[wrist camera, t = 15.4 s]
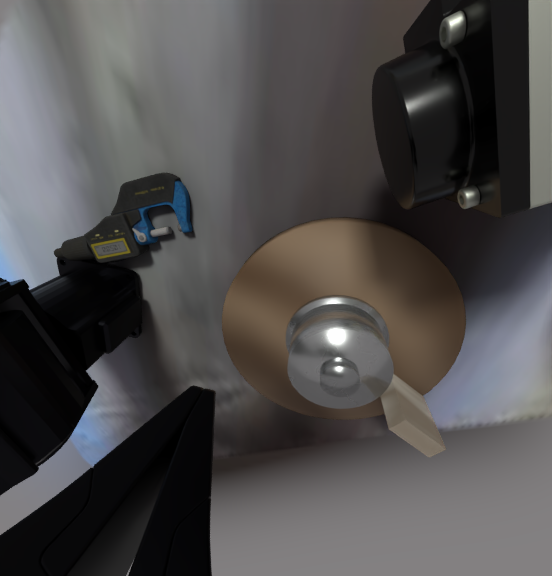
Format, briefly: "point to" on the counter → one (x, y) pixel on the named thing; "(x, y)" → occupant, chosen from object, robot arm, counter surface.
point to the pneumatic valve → (470, 107)
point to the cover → (339, 352)
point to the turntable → (360, 284)
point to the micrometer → (131, 221)
